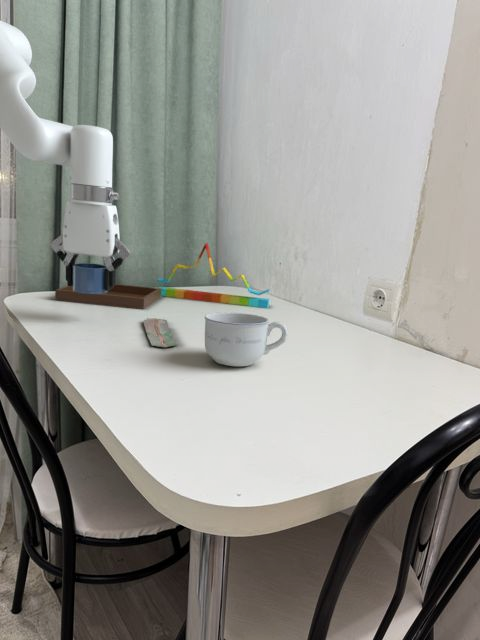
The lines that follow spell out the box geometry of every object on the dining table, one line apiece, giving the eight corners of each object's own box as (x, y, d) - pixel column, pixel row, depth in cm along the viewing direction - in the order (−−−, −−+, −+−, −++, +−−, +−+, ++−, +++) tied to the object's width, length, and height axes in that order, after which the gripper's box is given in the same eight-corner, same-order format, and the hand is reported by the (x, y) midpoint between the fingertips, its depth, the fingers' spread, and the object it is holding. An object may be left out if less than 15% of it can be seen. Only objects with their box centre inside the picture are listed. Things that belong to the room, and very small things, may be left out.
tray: (55, 300, 120) (55, 289, 120) (82, 289, 135) (82, 280, 134) (143, 309, 119) (143, 298, 119) (161, 297, 134) (161, 288, 133)
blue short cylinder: (66, 291, 99) (66, 265, 98) (81, 285, 106) (81, 262, 104) (100, 295, 99) (101, 269, 97) (112, 289, 105) (113, 265, 104)
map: (151, 351, 89) (151, 346, 89) (142, 318, 108) (142, 314, 107) (180, 351, 91) (180, 346, 91) (166, 319, 109) (166, 315, 109)
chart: (268, 305, 136) (273, 249, 132) (267, 307, 133) (272, 250, 129) (160, 293, 140) (162, 238, 136) (156, 295, 137) (158, 239, 133)
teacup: (193, 365, 82) (195, 318, 80) (214, 349, 93) (217, 306, 90) (276, 379, 80) (281, 330, 77) (288, 360, 90) (293, 316, 88)
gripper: (141, 200, 100) (138, 289, 105) (56, 191, 101) (57, 279, 106) (129, 200, 93) (126, 295, 98) (37, 190, 94) (39, 285, 99)
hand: (90, 286), depth 102 cm, fingers closed on blue short cylinder, 6 cm apart
